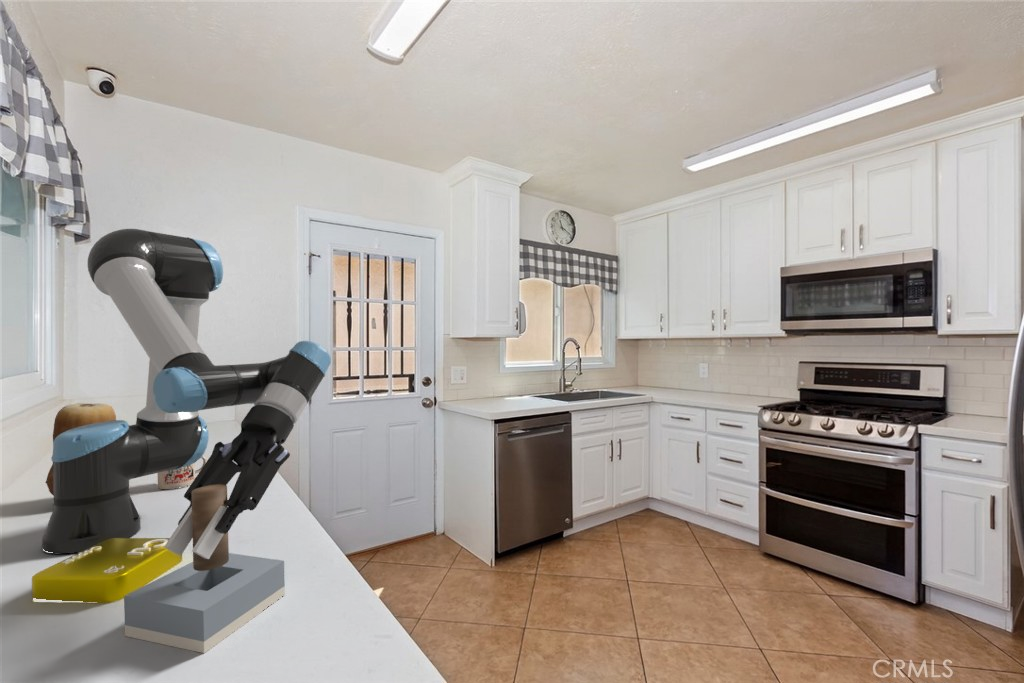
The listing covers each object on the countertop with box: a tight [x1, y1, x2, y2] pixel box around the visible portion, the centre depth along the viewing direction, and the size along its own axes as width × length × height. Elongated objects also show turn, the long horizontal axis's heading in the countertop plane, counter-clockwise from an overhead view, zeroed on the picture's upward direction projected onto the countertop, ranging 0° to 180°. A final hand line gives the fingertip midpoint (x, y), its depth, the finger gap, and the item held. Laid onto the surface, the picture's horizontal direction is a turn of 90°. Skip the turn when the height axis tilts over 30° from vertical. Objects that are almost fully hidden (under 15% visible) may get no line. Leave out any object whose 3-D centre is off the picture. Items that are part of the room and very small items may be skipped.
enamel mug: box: [157, 455, 207, 490], centre depth 133 cm, size 12×9×12 cm
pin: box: [192, 484, 230, 571], centre depth 69 cm, size 4×4×11 cm
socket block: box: [123, 552, 286, 654], centre depth 69 cm, size 14×14×6 cm
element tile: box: [31, 537, 183, 604], centre depth 80 cm, size 15×15×5 cm
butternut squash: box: [45, 402, 117, 497], centre depth 120 cm, size 14×13×25 cm
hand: (186, 552), depth 65 cm, fingers closed on pin, 4 cm apart
